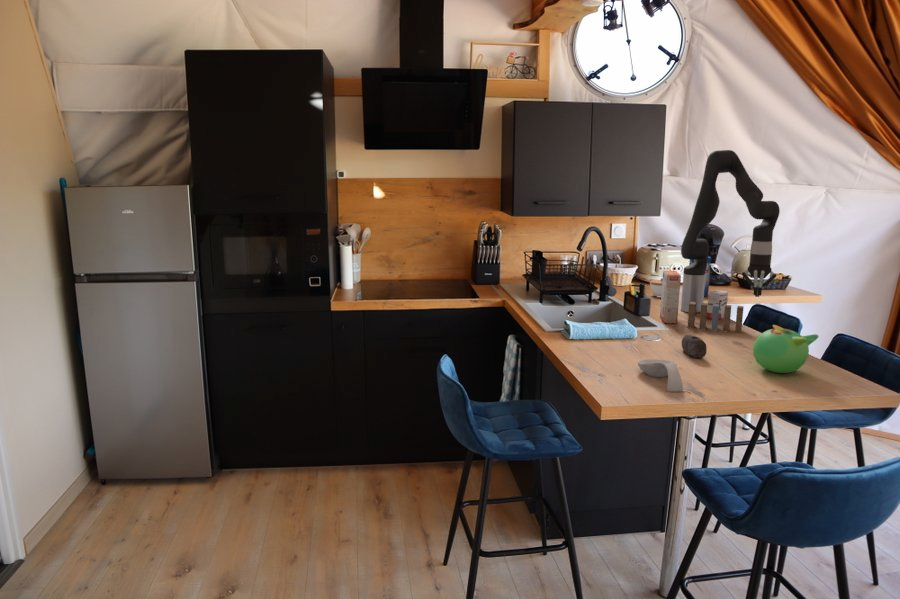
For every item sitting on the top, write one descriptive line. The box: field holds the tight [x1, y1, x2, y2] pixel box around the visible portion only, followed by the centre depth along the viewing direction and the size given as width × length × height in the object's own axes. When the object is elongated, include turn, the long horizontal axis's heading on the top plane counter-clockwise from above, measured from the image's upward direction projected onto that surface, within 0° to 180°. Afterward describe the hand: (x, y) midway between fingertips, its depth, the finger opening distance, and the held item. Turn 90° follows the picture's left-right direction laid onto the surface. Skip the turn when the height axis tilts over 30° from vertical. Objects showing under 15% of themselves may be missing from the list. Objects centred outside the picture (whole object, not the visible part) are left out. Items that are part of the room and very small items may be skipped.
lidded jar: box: [650, 277, 663, 297], centre depth 335 cm, size 11×11×9 cm
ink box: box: [707, 289, 729, 321], centre depth 286 cm, size 9×5×12 cm, turn 131°
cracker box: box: [659, 270, 682, 325], centre depth 280 cm, size 14×6×21 cm, turn 168°
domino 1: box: [687, 302, 696, 329], centre depth 270 cm, size 5×2×10 cm, turn 155°
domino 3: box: [710, 304, 719, 331], centre depth 266 cm, size 5×2×10 cm, turn 155°
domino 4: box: [722, 304, 732, 333], centre depth 264 cm, size 5×2×10 cm, turn 155°
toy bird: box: [752, 324, 819, 374], centre depth 210 cm, size 18×17×15 cm
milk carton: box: [688, 256, 712, 297], centre depth 337 cm, size 10×6×20 cm, turn 73°
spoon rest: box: [637, 358, 684, 393], centre depth 202 cm, size 24×12×7 cm, turn 1°
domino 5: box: [734, 305, 745, 334], centre depth 262 cm, size 5×2×10 cm, turn 154°
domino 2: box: [698, 302, 708, 330], centre depth 268 cm, size 5×2×10 cm, turn 154°
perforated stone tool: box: [681, 334, 708, 359], centre depth 230 cm, size 15×5×7 cm, turn 0°
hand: (757, 296), depth 258 cm, fingers closed
